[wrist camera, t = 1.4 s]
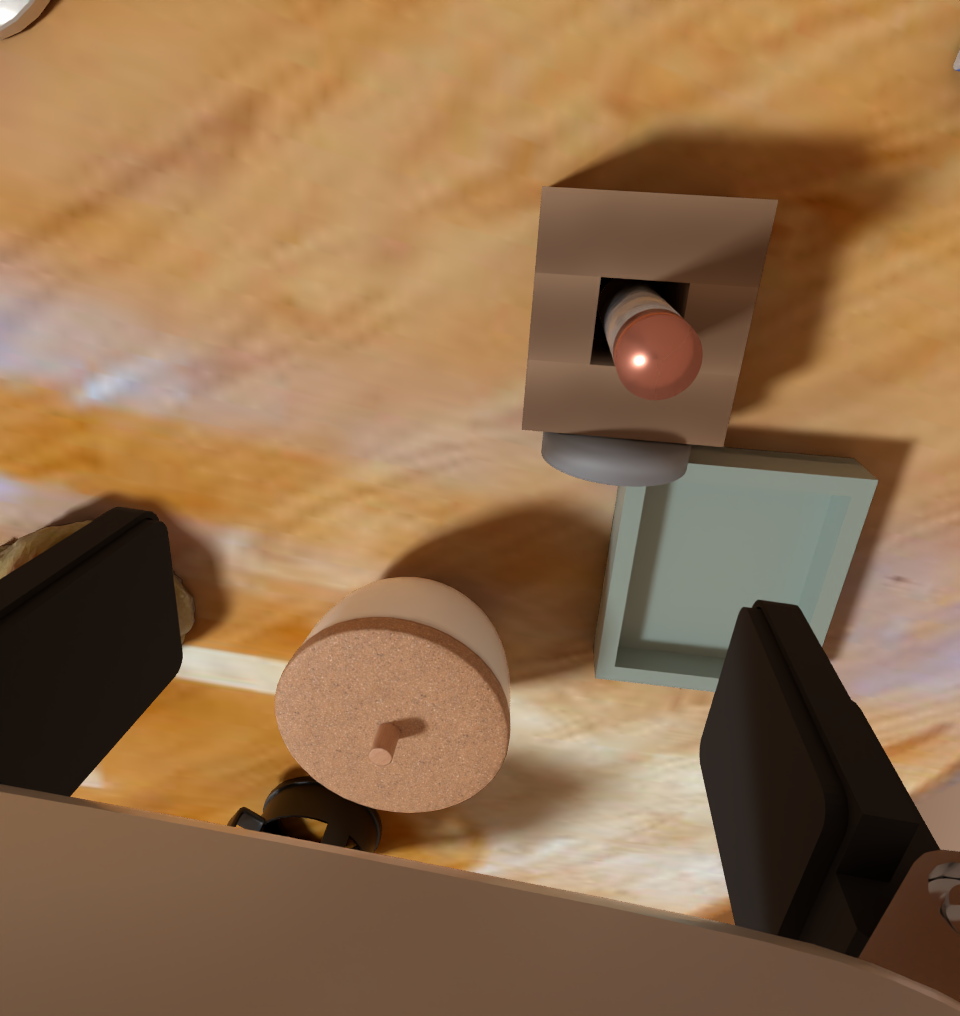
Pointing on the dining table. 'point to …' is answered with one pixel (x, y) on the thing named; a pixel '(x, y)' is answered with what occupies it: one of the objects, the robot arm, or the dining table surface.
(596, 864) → the dining table surface
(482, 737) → the lidded bowl
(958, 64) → the medicine box
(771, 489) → the tray
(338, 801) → the french press
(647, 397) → the lock pin
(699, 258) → the block
